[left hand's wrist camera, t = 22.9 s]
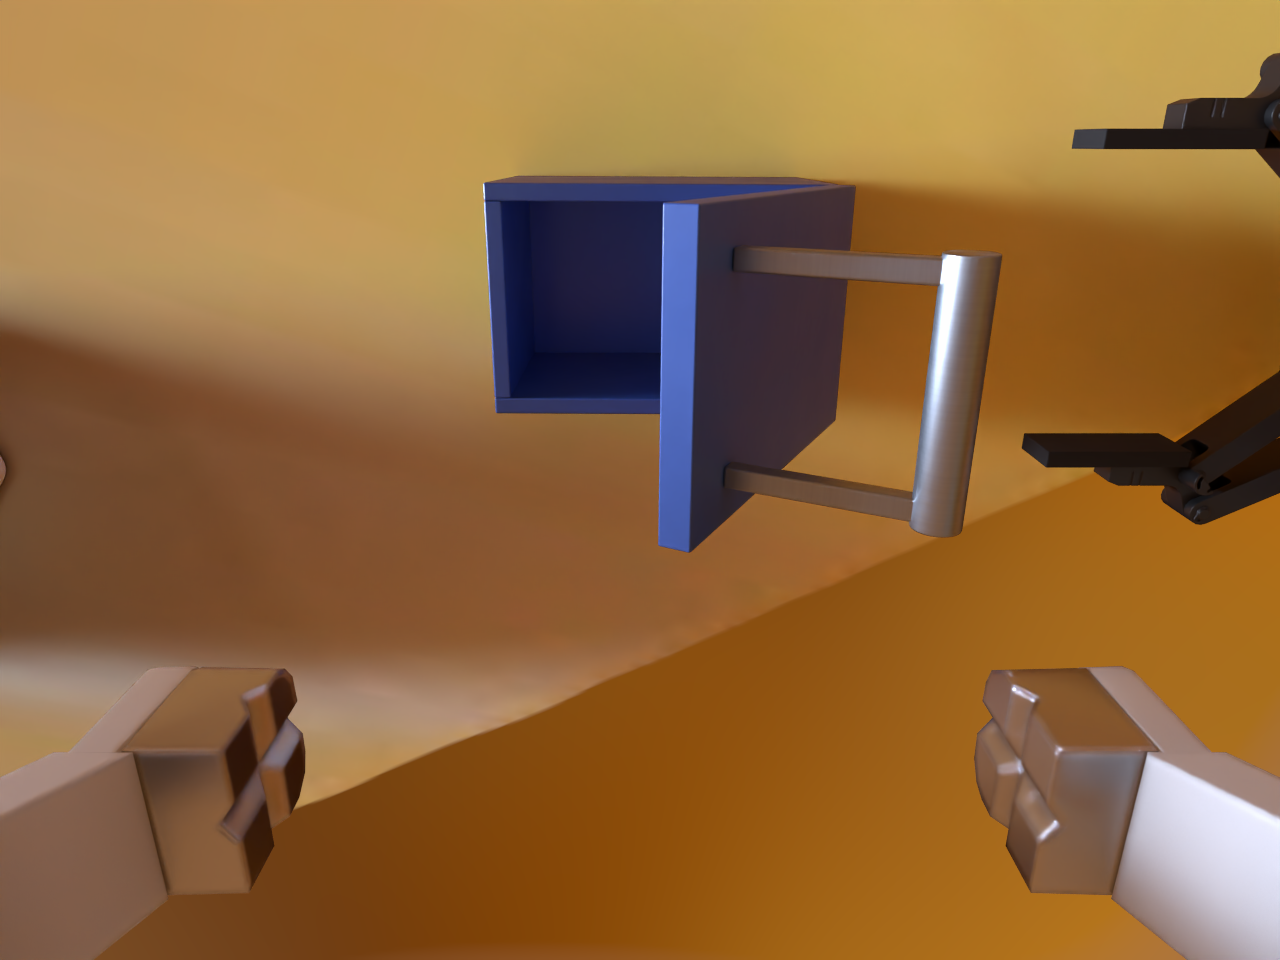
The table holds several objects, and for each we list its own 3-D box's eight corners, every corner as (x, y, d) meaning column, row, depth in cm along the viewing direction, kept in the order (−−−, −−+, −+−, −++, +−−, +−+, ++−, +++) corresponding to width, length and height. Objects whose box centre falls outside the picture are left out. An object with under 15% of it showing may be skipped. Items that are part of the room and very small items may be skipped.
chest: (524, 361, 49) (495, 413, 39) (516, 176, 46) (482, 182, 36) (785, 363, 49) (821, 415, 39) (797, 177, 46) (839, 184, 36)
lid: (657, 546, 26) (939, 609, 23) (661, 202, 23) (995, 213, 19) (811, 417, 39) (1007, 444, 36) (829, 184, 36) (1048, 189, 32)
